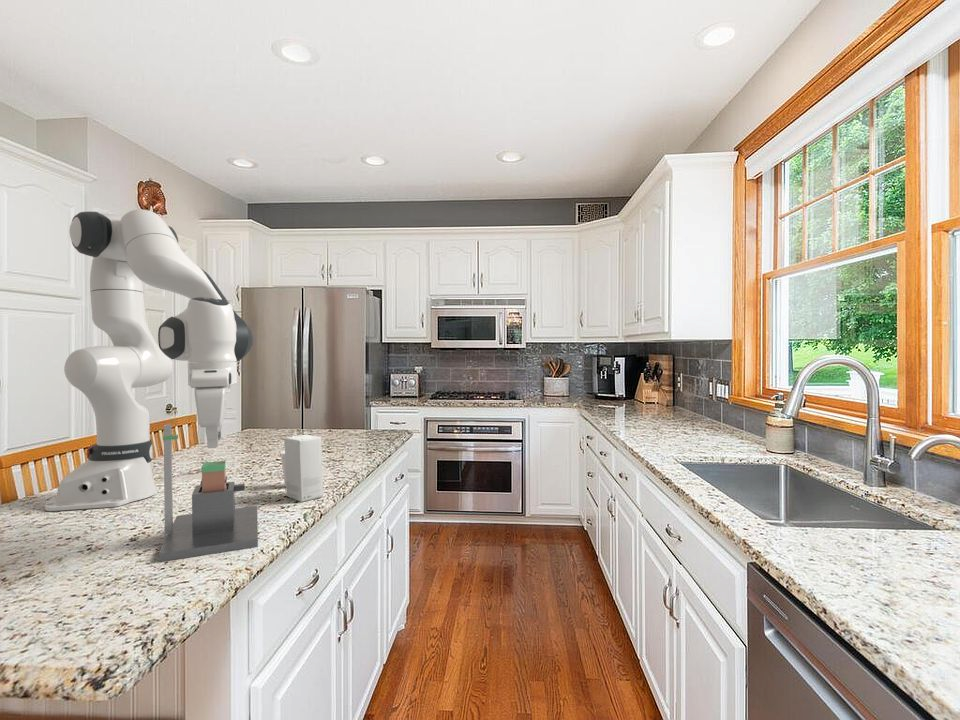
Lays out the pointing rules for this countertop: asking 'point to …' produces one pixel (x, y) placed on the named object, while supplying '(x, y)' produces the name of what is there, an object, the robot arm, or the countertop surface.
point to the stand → (205, 518)
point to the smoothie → (283, 464)
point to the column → (214, 476)
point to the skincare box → (303, 467)
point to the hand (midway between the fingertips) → (214, 443)
